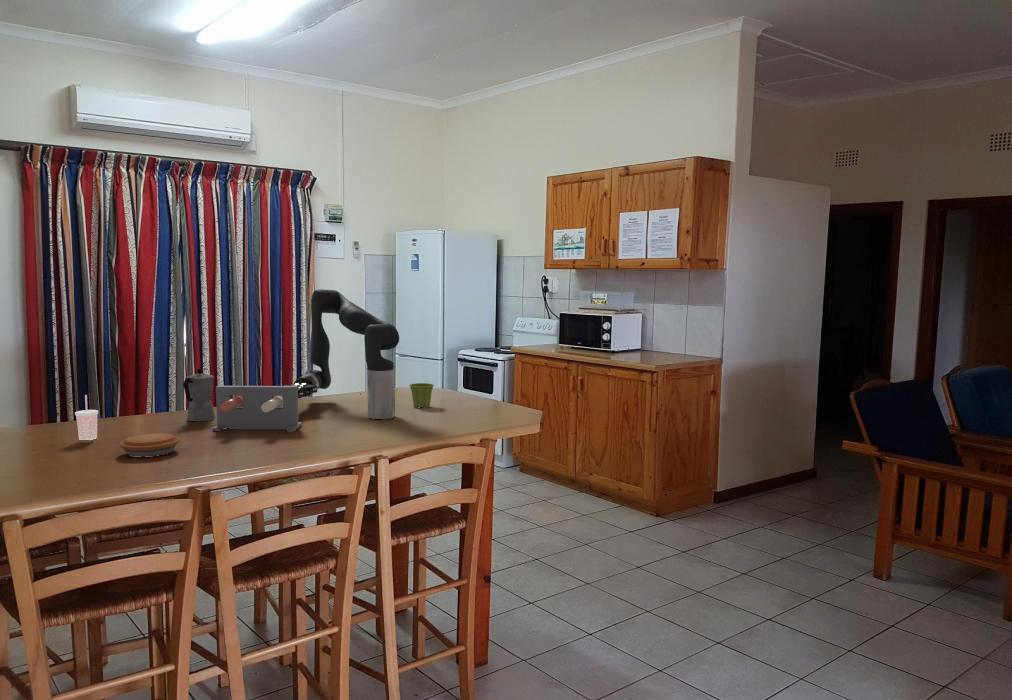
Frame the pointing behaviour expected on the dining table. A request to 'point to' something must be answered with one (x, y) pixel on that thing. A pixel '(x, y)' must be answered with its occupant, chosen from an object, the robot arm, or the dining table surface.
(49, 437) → the dining table surface
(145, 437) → the pie
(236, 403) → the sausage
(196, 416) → the coffeepot
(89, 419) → the beverage cup
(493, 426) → the dining table surface
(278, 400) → the beige lever
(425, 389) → the plant pot
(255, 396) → the panel
